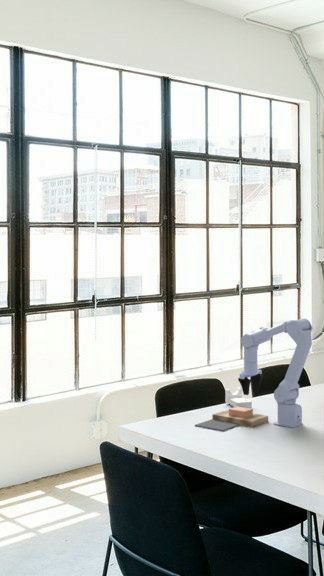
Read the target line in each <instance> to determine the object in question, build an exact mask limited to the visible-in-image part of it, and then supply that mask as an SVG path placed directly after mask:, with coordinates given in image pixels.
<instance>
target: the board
mask: <svg viewBox="0 0 324 576" xmlns="http://www.w3.org/2000/svg"><path fill="white" fill-rule="evenodd" d="M229 409H230V408H228V409H225V410H221V411H218V412H216V413H213V414H212V415H211V416H212V417H211V418H212V419H213V420H219V421H225V422H230V423H236V424H240V426H241V427H242V426H243V427H248V428H255V427H258V426H261V425H264V424H266V423H268V422H269V415H264V414H259V413H255V412H253V415H251V416H248V417H245V418H244V417H238V416H232V415H229Z"/></svg>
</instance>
